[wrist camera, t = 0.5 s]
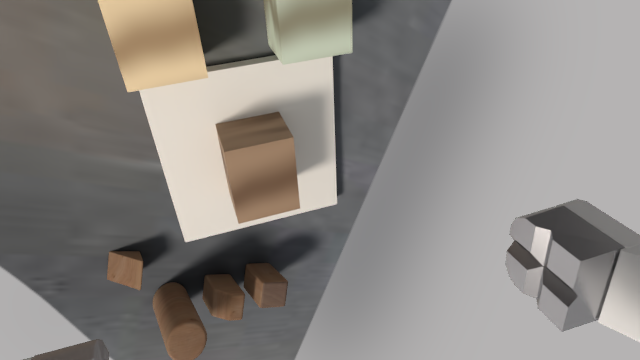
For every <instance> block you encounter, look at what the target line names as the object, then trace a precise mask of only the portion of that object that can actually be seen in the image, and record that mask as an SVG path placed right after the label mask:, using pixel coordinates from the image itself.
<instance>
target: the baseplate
mask: <svg viewBox="0 0 640 360" xmlns="http://www.w3.org/2000/svg"><path fill="white" fill-rule="evenodd" d="M206 69H207V74H208V78H205V79H199V80H193V81H188V82H182V83H177V84H171V85H166V86H160V87H154V88H149V89H143V90H139V92H140V95H141V98H142V102H143V105H144V108H145V111H146V115H147V118H148V121H149V125H150V128H151V131H152V134H153V138H154V141H155V144H156V148H157V151H158V154H159V158H160V161H161V164H162V167H163V171H164V174H165V177H166V181H167V184H168V187H169V190H170V194H171V197H172V200H173V204H174V207H175V210H176V213H177V217H178V220H179V223H180V227H181V230H182V233H183V236H184V240H185V242H189V241H193V240H197V239H201V238H205V237H209V236H213V235H216V234H220V233H224V232H228V231H232V230H236V229H240V228H244V227H248V226H252V225H256V224H260V223H264V222H268V221H272V220H276V219H280V218H284V217H287V216H291V215H295V214H299V213H303V212H307V211H311V210H315V209H319V208H323V207H327V206H331V205H335V204H337V186H336V154H335V122H334V89H333V57H332V56H331V57H325V58H319V59H314V60H308V61H302V62H297V63H291V64H285V65H283V64H282V63H281V62H280V60H279V59H278V57H277V56H276V55H273V56H267V57H261V58H256V59H250V60H244V61H238V62H232V63H226V64H220V65H214V66H208V67H206ZM274 112H279V113H280V114H281V116H282V118H283V120H284V121H285V123H286V125H287V127H288V128H289V130H290V132H291V134H292V135H293V137H294V147H295V158H296V169H297V179H298V190H299V201H300V209H296V210H292V211H288V212H284V213H280V214H276V215H272V216H268V217H264V218H260V219H256V220H252V221H248V222H244V223H240V224H238V220H237V217H236V213H235V210H234V207H233V203H232V200H231V196H230V193H229V188H228V183H227V179H226V174H225V169H224V164H223V159H222V154H221V150H220V145H219V140H218V135H217V130H216V125H215V124H219V123H224V122H229V121H234V120H239V119H244V118H249V117H254V116H259V115H264V114H269V113H274Z"/></svg>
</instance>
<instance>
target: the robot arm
mask: <svg viewBox="0 0 640 360" xmlns="http://www.w3.org/2000/svg"><path fill="white" fill-rule="evenodd" d="M510 235H511V237H512V238H513V240H514V242H513V243H512V245H511V246H510V247H509V249H508V250H507V254H506V267H507V271H508V274H509V277H510V278H511V280H512V281H513V283H514V285H515V286H516V287H517V288H518V289H519V290H520V291H521V292H522V293H524V294H526V295H529V296H531V297H534V298H537V305H538V309H539V310H540V311H542V313H543V314H544V315H545V316H546V317H547V318H548V319H549V320H550V321H551V322H552V323H554V324H555V325H556V326H557V327H558V328H559V329H560V330H561V331H565V330H569V329H572V328H574V327H578V326H581V325H584V324H587V323H590V322H593V321H596V320H598V322H599V323H601V324H603V325H605V326H607V327H609V328H611V329H613V330H616V331H617V332H619V333H621V334H624V335H626V336H628V337H630V338H632V339H634V340H636V341H638V342H640V235H639V234H637V233H636V232H634V231H632V230H631V229H629V228H628V227H626V226H624V225H623V224H621V223H619V222H618V221H617V220H615V219H613V218H612V217H610V216H609V215H607V214H606V213H604V212H602V211H601V210H599V209H598V208H596V207H595V206H593V205H591V204H590V203H588V202H587V201H583V200H579V199H577V200H573V201H570V202H567V203H564V204H560V205H557V206H556V207H551V208H548V209H544V210H541V211H538V212H534V213H531V214H528V215H524V216H521V217H518V218H515V220H514V221H513V223H512V224H511V228H510ZM24 360H109V351H108V349H107V348H106V346H105V344H104V342H103V340H100V339H96V340H92V341H88V342H85V343H81V344H77V345H74V346H70V347H66V348H62V349H58V350H55V351H51V352H47V353H43V354H40V355H36V356H34V357H31V358H27V359H24Z"/></svg>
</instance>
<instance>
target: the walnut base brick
mask: <svg viewBox="0 0 640 360" xmlns="http://www.w3.org/2000/svg"><path fill="white" fill-rule="evenodd" d="M215 125H216V130H217V135H218V140H219V145H220V150H221V154H222V159H223V164H224V169H225V174H226V179H227V183H228V188H229V193H230V196H231V200H232V203H233V207H234V210H235V213H236V217H237V220H238V224H240V223H244V222H248V221H252V220H256V219H260V218H264V217H268V216H272V215H276V214H280V213H284V212H288V211H292V210H296V209H300V201H299V190H298V179H297V169H296V158H295V147H294V137H293V135H292V134H291V132H290V130H289V128H288V127H287V125H286V123H285V121H284V120H283V118H282V116H281V114H280V113H279V112H274V113H269V114H264V115H259V116H254V117H249V118H244V119H239V120H234V121H229V122H224V123H219V124H215Z"/></svg>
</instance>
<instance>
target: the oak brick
mask: <svg viewBox="0 0 640 360" xmlns="http://www.w3.org/2000/svg"><path fill="white" fill-rule="evenodd" d="M98 2H99V6H100V9H101V12H102V15H103V18H104V21H105V24H106V27H107V30H108V33H109V36H110V39H111V42H112V45H113V49H114V52H115V55H116V58H117V61H118V64H119V67H120V70H121V73H122V76H123V79H124V82H125V85H126V89H127V92H132V91H138V90H143V89H149V88H154V87H160V86H166V85H171V84H177V83H182V82H188V81H193V80H199V79H205V78H208V74H207V69H206V64H205V59H204V55H203V50H202V45H201V40H200V35H199V30H198V26H197V21H196V16H195V11H194V6H193V2H192V0H98Z"/></svg>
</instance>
